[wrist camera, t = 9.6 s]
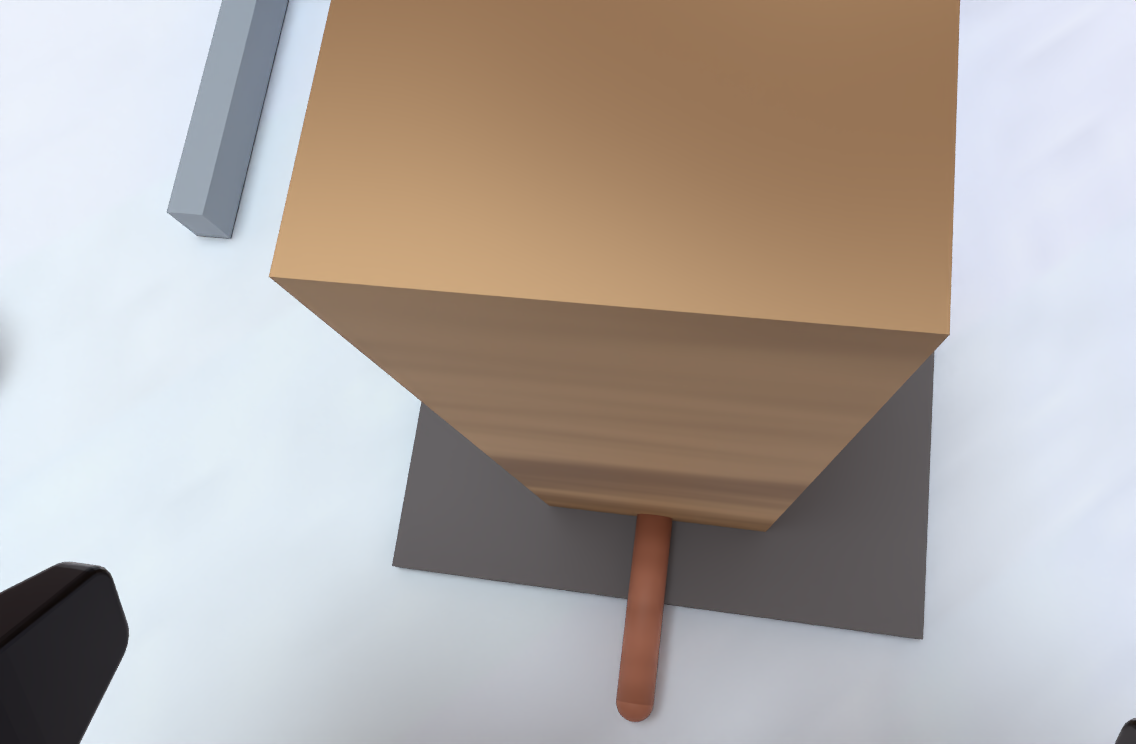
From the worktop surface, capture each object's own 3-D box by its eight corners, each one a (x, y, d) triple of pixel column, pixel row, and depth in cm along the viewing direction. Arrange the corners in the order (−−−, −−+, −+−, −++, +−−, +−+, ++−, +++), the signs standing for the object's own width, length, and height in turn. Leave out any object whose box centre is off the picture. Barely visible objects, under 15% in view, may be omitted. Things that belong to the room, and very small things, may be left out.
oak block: (749, 737, 20) (926, 1070, 5) (522, 702, 20) (126, 907, 6) (781, 322, 22) (967, -246, 7) (576, 304, 23) (385, -242, 8)
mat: (918, 638, 20) (923, 639, 20) (397, 566, 22) (392, 565, 21) (931, 316, 22) (935, 310, 21) (449, 274, 24) (445, 268, 23)
